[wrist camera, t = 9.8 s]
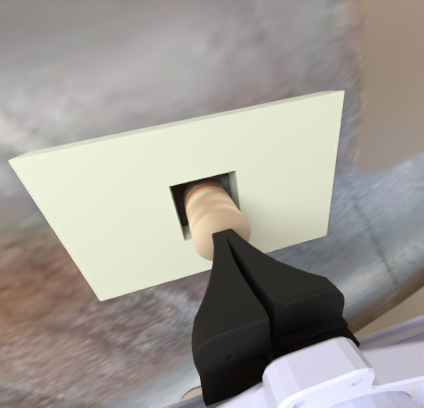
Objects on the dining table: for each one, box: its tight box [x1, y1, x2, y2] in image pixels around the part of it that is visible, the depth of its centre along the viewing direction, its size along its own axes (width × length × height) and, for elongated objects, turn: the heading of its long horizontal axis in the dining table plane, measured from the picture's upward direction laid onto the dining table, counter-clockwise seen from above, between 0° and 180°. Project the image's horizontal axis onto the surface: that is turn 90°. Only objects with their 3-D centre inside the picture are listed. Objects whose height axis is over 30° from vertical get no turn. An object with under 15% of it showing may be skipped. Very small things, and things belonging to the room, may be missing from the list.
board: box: [8, 91, 344, 301], centre depth 19 cm, size 24×14×2 cm, turn 100°
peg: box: [183, 177, 251, 261], centre depth 17 cm, size 4×4×7 cm
